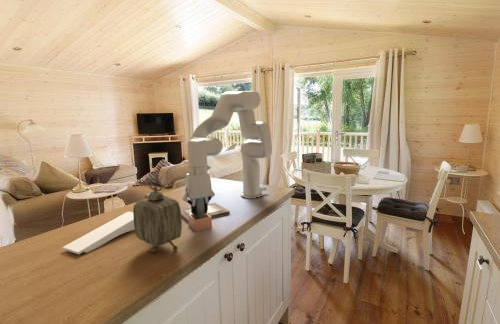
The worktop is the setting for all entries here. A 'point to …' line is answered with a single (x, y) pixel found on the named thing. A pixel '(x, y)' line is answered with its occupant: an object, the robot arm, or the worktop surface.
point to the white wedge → (102, 234)
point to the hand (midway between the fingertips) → (199, 213)
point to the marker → (200, 208)
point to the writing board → (213, 211)
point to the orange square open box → (200, 222)
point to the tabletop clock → (157, 218)
